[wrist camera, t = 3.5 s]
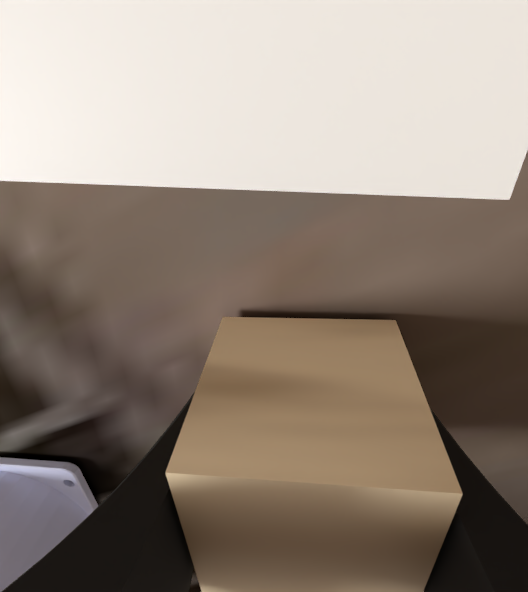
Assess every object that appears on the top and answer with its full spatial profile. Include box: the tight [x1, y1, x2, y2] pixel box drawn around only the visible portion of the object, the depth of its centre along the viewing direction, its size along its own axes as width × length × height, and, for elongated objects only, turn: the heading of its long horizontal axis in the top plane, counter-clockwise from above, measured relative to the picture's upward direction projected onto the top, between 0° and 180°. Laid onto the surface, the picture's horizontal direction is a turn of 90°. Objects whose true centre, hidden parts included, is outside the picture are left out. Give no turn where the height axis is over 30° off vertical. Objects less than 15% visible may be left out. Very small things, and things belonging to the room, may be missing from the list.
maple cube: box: [165, 317, 463, 592], centre depth 9 cm, size 5×5×5 cm
